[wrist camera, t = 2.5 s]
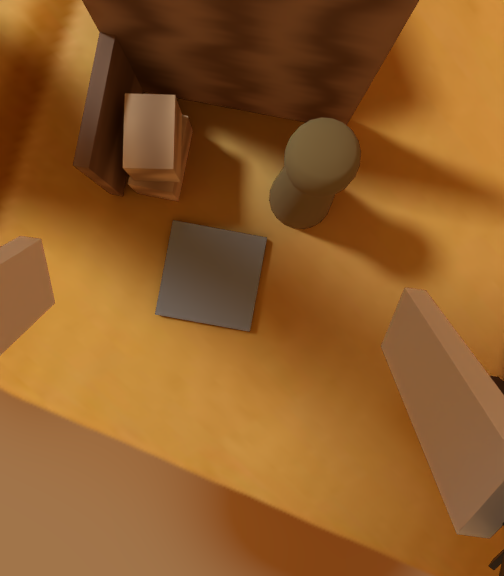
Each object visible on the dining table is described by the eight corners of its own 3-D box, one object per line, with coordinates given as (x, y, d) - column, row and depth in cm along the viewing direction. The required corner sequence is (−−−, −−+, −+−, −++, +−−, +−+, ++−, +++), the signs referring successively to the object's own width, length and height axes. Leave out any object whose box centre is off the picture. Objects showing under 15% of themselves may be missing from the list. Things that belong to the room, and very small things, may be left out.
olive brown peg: (310, 240, 33) (343, 211, 22) (257, 207, 33) (262, 162, 22) (343, 188, 33) (391, 132, 22) (290, 155, 33) (312, 83, 22)
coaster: (156, 314, 32) (155, 314, 31) (174, 221, 32) (173, 220, 32) (249, 330, 32) (249, 331, 32) (266, 238, 32) (267, 237, 32)
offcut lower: (138, 194, 33) (127, 183, 30) (153, 124, 33) (143, 107, 30) (179, 202, 33) (172, 192, 30) (193, 132, 33) (188, 115, 30)
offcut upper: (135, 181, 30) (122, 167, 27) (136, 113, 30) (124, 93, 27) (180, 182, 30) (173, 169, 27) (182, 115, 30) (175, 94, 27)
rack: (110, 193, 32) (-23, 92, 16) (133, 77, 33) (25, -135, 17) (325, 233, 33) (401, 172, 17) (346, 117, 33) (440, -53, 17)
